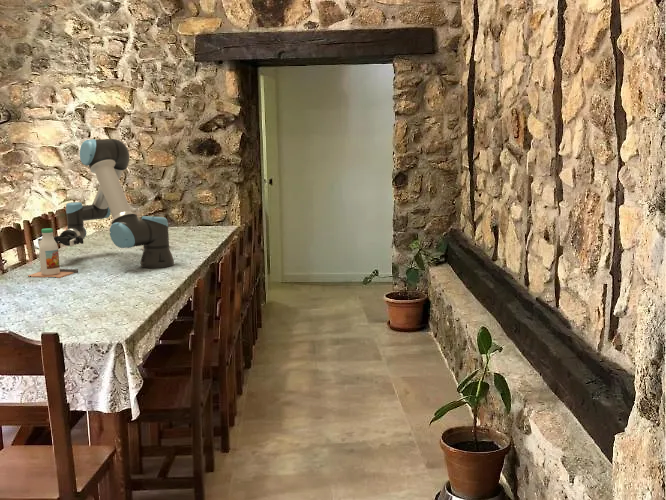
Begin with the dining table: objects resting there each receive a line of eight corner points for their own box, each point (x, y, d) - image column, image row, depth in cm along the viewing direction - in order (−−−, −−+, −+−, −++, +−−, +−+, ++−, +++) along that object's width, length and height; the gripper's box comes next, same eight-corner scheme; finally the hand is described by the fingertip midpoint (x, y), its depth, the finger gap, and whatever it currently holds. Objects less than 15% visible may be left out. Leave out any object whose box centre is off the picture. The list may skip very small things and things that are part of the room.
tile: (73, 273, 303) (73, 272, 303) (60, 277, 294) (60, 276, 294) (41, 272, 307) (41, 271, 307) (27, 276, 297) (27, 275, 297)
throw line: (78, 272, 305) (78, 269, 305) (76, 273, 304) (76, 269, 304) (42, 271, 309) (42, 268, 309) (40, 272, 308) (40, 268, 308)
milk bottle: (40, 276, 296) (36, 230, 292) (42, 272, 303) (38, 228, 300) (59, 274, 298) (55, 229, 294) (61, 271, 305) (57, 227, 302)
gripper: (97, 244, 329) (84, 251, 308) (43, 245, 327) (27, 252, 306) (95, 228, 328) (82, 235, 307) (42, 229, 326) (25, 236, 305)
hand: (55, 244), depth 306 cm, fingers open, 13 cm apart
